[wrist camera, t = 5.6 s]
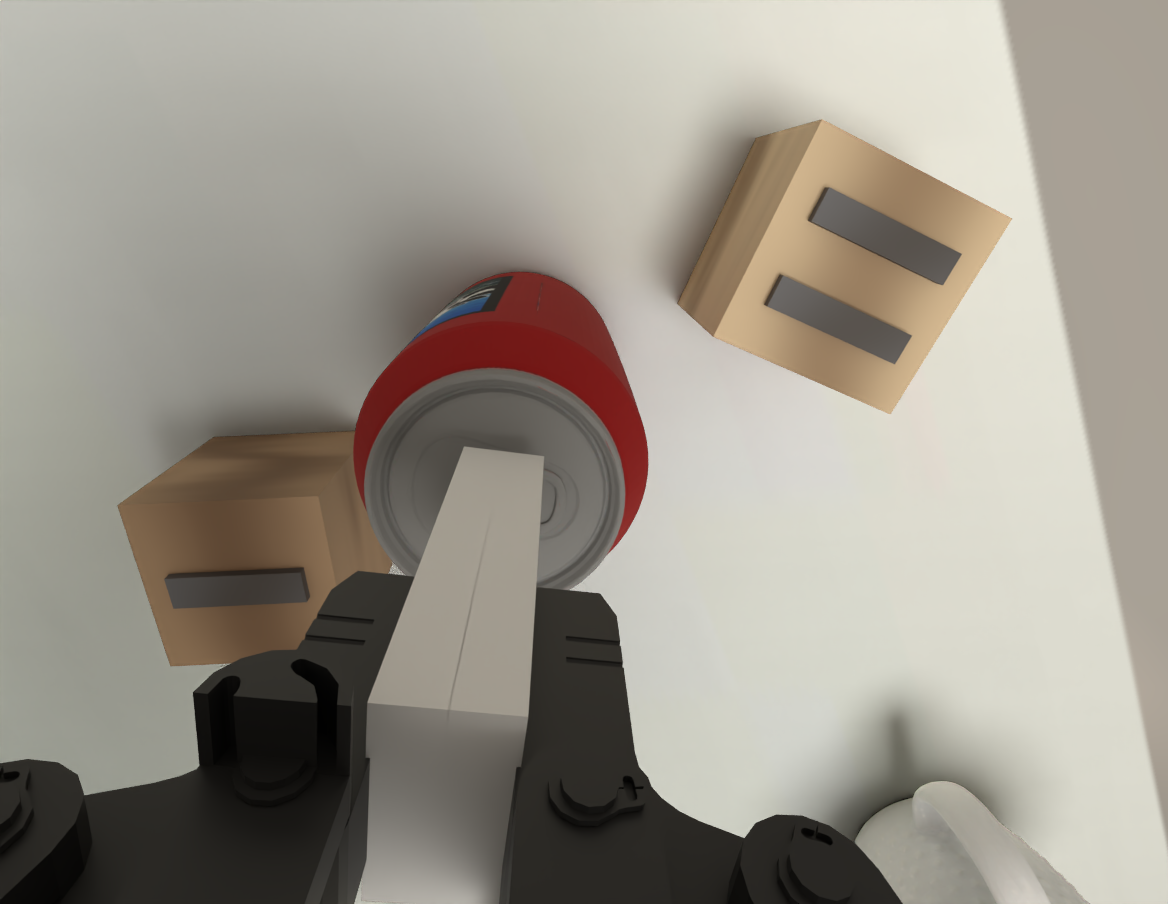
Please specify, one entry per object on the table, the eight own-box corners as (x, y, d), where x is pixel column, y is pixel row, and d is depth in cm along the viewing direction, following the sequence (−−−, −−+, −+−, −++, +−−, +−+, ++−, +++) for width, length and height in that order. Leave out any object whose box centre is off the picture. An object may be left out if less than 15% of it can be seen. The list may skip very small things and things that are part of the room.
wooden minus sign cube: (249, 570, 27) (165, 672, 22) (214, 436, 25) (110, 509, 19) (392, 563, 28) (348, 663, 22) (370, 429, 25) (314, 500, 20)
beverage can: (441, 253, 23) (330, 309, 12) (629, 284, 24) (692, 365, 12) (426, 432, 25) (323, 618, 14) (597, 456, 26) (627, 652, 15)
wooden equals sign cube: (677, 303, 24) (715, 338, 18) (755, 138, 22) (826, 117, 16) (816, 365, 25) (895, 417, 19) (902, 212, 23) (1019, 218, 17)
